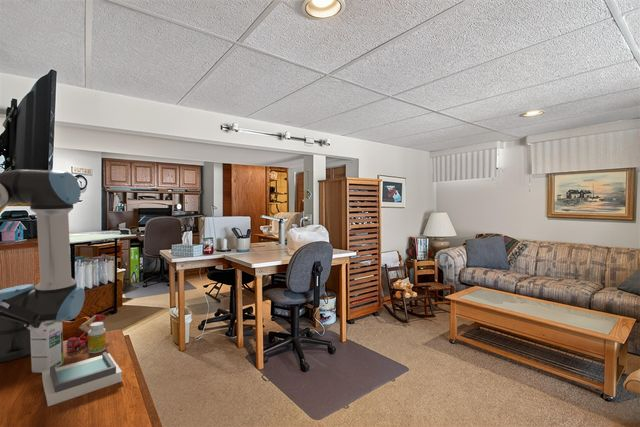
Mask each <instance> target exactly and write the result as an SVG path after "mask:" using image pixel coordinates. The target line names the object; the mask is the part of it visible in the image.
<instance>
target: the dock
mask: <svg viewBox="0 0 640 427" xmlns="http://www.w3.org/2000/svg"><path fill="white" fill-rule="evenodd" d="M41 378H42V379H41V380H42V388H43V390H44V395H45V399H46V404H47V407H50V406H54V405H57V404H60V403H63V402H65V401H69V400H71V399H74V398H77V397H80V396H83V395H86V394H88V393H89V394H90V393H92V392H95V391H98V390H100V389H103V388H106V387H110V386H113V385H115V384H118V383H121V382H123V370H121V368H120V366H119V365H118V363H117V362H116V361H115V359H114V358H113V356H112V355H111V353H109V352H108V353H107V351H104V352H102V353H101V355H99V356H95V357H90V358H87V359H83V360H80V361H77V362H73V363H70V364H66V365H61V366H59V367H57V368H55V367H54V366H53V367H50V370H47V371H44V372H42V373H41Z"/></svg>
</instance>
